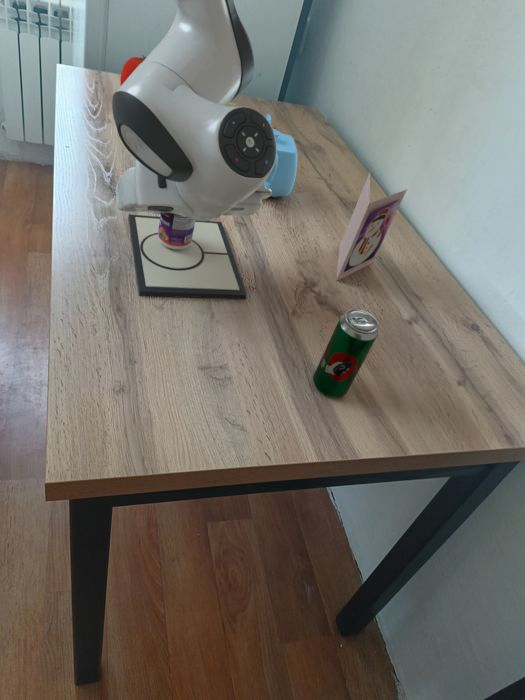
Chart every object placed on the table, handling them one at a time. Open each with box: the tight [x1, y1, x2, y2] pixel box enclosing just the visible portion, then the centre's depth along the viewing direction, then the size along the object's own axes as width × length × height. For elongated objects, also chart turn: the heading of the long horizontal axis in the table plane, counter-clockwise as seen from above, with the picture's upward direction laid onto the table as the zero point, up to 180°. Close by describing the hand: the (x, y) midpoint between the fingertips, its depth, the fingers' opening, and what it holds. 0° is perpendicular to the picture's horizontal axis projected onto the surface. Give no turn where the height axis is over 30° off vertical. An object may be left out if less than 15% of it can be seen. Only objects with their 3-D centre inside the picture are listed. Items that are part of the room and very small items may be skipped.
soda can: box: [312, 308, 379, 398], centre depth 69 cm, size 5×5×12 cm
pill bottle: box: [158, 213, 195, 249], centre depth 83 cm, size 5×5×10 cm
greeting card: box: [336, 172, 408, 281], centre depth 91 cm, size 11×7×15 cm, turn 136°
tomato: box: [119, 54, 147, 86], centre depth 119 cm, size 10×11×11 cm
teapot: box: [262, 113, 298, 198], centre depth 107 cm, size 12×18×12 cm
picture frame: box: [127, 213, 248, 300], centre depth 86 cm, size 16×20×1 cm
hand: (178, 209), depth 83 cm, fingers closed on pill bottle, 5 cm apart
